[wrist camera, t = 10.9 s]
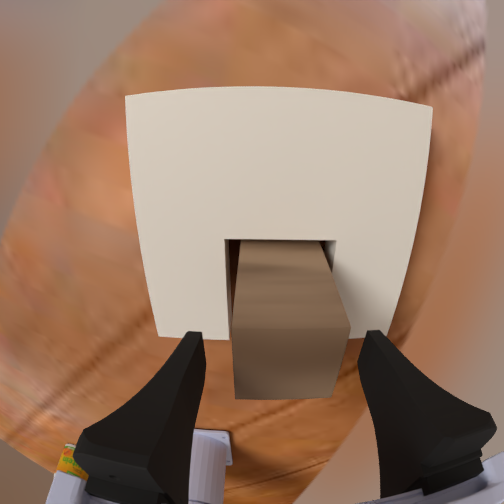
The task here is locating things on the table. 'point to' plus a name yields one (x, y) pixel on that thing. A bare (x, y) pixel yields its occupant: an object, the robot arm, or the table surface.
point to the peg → (286, 322)
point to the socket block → (274, 193)
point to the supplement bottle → (70, 463)
